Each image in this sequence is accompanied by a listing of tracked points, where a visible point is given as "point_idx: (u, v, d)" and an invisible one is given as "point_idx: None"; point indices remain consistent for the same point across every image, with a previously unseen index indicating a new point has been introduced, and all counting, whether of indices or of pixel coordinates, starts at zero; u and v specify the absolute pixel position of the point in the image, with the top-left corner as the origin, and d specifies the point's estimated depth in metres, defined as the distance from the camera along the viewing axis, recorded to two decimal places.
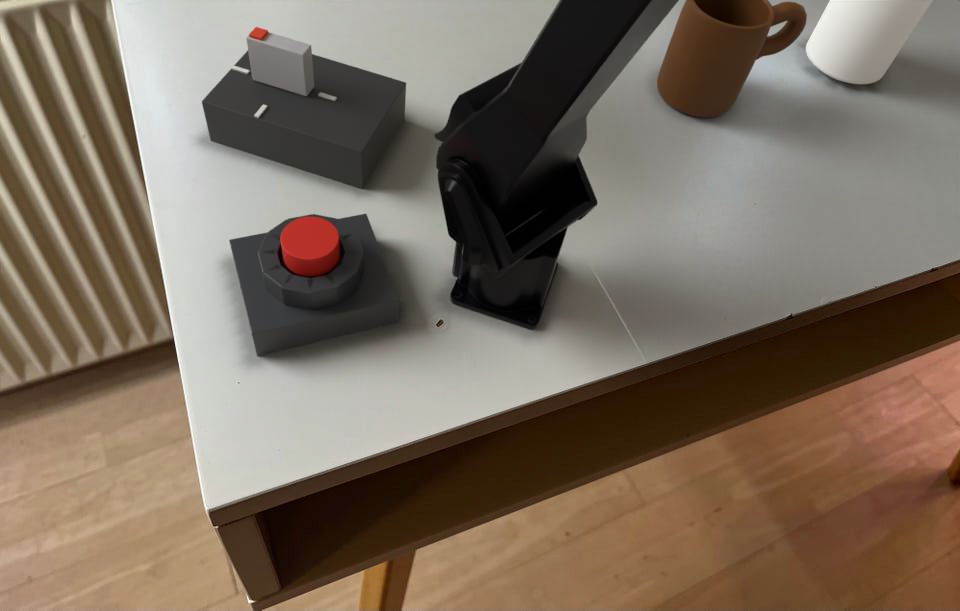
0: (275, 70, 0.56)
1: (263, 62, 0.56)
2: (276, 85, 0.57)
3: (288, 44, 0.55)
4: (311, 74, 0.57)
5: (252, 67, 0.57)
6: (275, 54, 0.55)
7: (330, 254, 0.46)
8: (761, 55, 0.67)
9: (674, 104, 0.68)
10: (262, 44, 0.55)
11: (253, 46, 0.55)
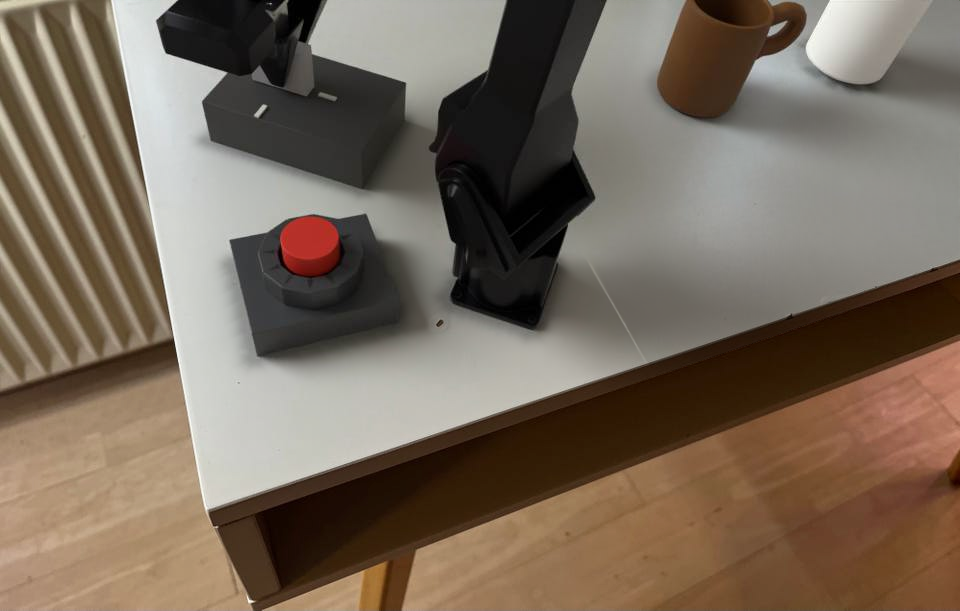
0: None
1: None
2: None
3: None
4: (311, 74, 0.57)
5: None
6: None
7: (330, 254, 0.46)
8: (761, 55, 0.67)
9: (674, 104, 0.68)
10: None
11: None
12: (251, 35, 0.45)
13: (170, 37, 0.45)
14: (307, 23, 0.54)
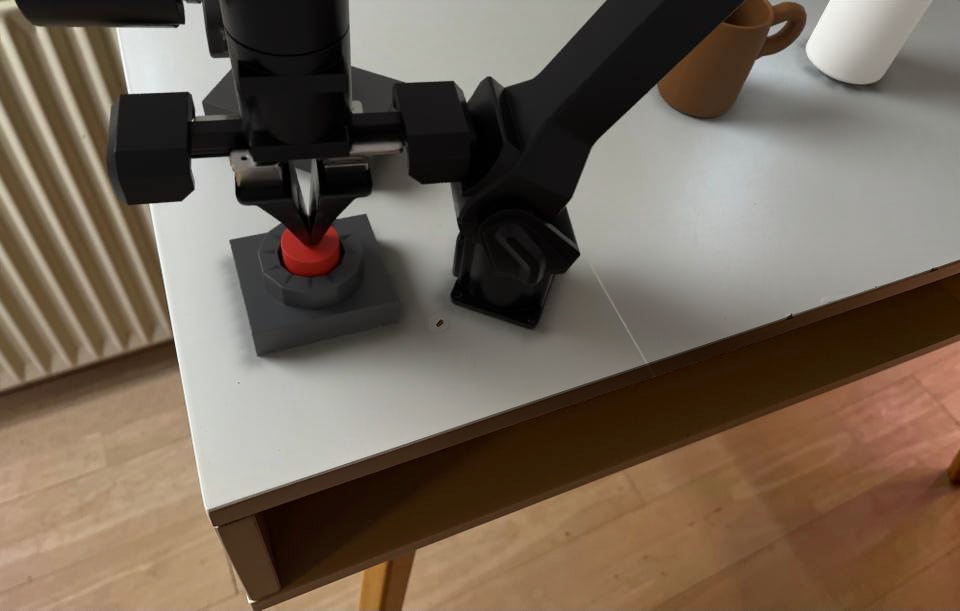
0: None
1: None
2: None
3: None
4: None
5: None
6: None
7: (330, 257, 0.47)
8: (761, 55, 0.67)
9: (674, 104, 0.68)
10: None
11: None
12: (138, 170, 0.36)
13: None
14: None
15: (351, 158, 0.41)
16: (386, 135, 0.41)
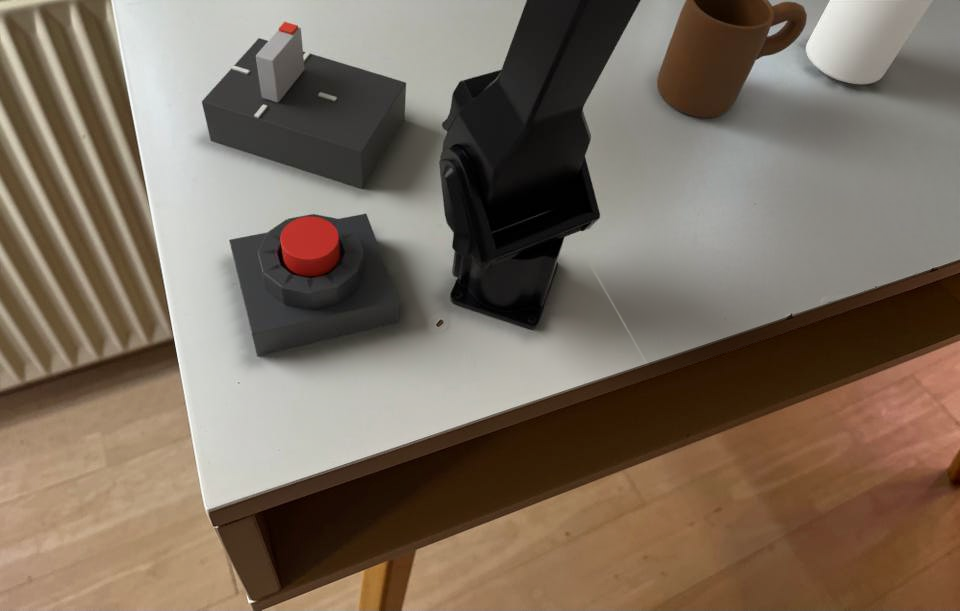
0: None
1: None
2: None
3: (272, 46, 0.54)
4: (271, 86, 0.55)
5: None
6: None
7: (330, 254, 0.46)
8: (761, 55, 0.67)
9: (674, 104, 0.68)
10: None
11: None
12: None
13: None
14: None
15: None
16: None
